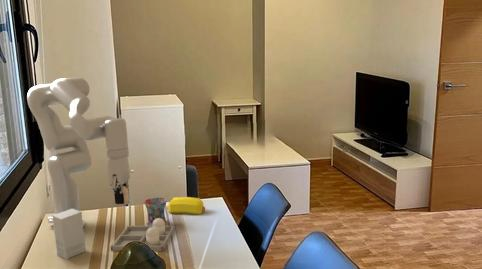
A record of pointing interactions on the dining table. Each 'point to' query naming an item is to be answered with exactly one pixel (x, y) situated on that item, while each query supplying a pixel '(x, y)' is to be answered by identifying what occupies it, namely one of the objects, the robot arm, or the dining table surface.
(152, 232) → the far egg
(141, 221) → the dining table surface
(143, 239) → the carton
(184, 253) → the dining table surface
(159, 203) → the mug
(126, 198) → the egg
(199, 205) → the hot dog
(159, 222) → the egg
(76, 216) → the skincare box
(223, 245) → the dining table surface
